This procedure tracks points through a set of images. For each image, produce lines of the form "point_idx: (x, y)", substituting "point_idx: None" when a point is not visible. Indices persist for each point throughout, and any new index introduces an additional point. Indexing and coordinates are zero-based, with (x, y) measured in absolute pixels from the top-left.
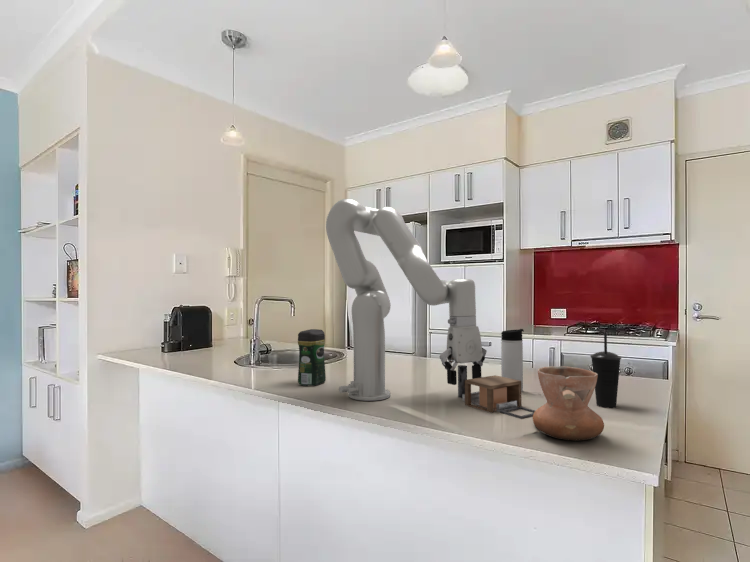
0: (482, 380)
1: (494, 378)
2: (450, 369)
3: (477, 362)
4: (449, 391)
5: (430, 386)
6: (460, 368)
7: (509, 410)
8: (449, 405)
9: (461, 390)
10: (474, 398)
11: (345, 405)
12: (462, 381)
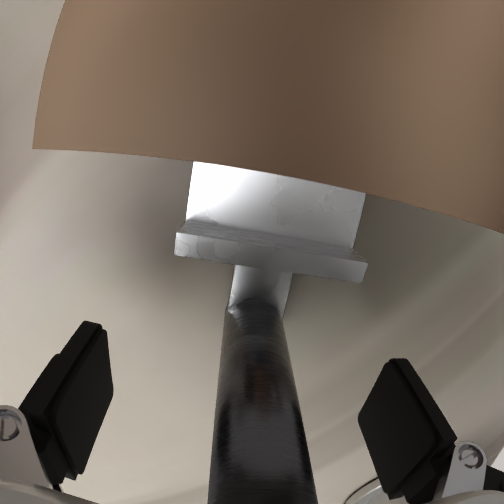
0: (464, 72)
1: (236, 3)
2: (470, 456)
3: (46, 474)
4: (144, 437)
5: (155, 490)
6: (315, 489)
7: None
8: (372, 306)
9: (285, 344)
10: (262, 234)
11: (494, 441)
12: (291, 383)
